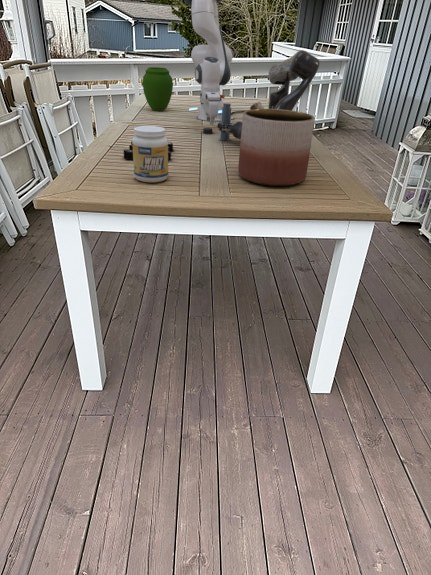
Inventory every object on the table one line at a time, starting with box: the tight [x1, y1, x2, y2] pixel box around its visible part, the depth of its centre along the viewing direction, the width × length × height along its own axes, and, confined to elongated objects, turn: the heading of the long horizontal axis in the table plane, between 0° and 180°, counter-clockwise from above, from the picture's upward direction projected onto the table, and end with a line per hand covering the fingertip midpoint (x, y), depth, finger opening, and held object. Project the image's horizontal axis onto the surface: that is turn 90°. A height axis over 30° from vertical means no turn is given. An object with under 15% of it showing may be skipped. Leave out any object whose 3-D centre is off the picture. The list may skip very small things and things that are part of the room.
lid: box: [202, 127, 213, 135], centre depth 215 cm, size 5×5×2 cm
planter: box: [237, 108, 316, 187], centre depth 148 cm, size 25×25×22 cm
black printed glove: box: [123, 140, 174, 161], centre depth 177 cm, size 19×3×30 cm
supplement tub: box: [131, 125, 169, 183], centre depth 142 cm, size 12×12×17 cm
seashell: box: [249, 101, 265, 110], centre depth 266 cm, size 10×6×8 cm, turn 97°
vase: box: [141, 66, 174, 112], centre depth 261 cm, size 20×20×24 cm
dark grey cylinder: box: [220, 102, 232, 142], centre depth 199 cm, size 4×4×17 cm
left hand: (209, 122), depth 215 cm, fingers open, 8 cm apart
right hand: (222, 124), depth 202 cm, fingers closed on dark grey cylinder, 4 cm apart
